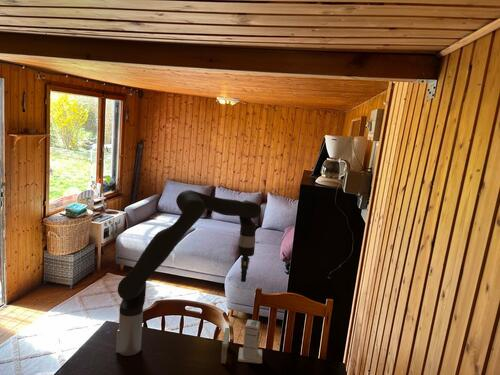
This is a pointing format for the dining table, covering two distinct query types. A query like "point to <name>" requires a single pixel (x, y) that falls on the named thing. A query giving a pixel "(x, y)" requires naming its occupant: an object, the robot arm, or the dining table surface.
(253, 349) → the syrup box
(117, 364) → the dining table surface
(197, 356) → the dining table surface
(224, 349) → the birch posts
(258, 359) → the grey mat
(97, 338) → the dining table surface
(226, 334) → the wooden bar
